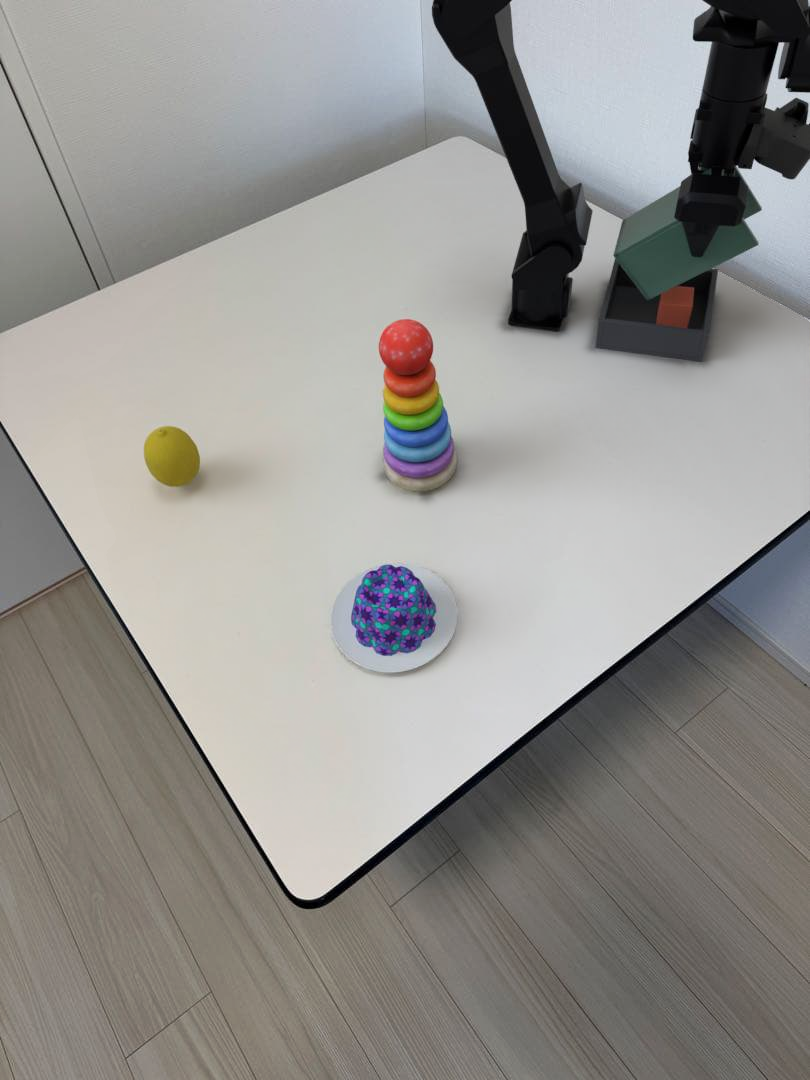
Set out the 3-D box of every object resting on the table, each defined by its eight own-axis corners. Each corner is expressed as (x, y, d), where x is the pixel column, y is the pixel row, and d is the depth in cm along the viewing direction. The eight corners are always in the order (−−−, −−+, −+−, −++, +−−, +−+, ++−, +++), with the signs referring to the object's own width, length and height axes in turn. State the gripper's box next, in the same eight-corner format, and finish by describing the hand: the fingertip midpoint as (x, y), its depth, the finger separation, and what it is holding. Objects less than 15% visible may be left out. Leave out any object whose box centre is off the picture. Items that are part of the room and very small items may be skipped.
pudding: (315, 664, 75) (305, 636, 71) (350, 559, 82) (342, 527, 78) (444, 686, 73) (441, 658, 68) (468, 576, 79) (467, 544, 75)
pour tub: (613, 255, 90) (725, 192, 81) (622, 220, 94) (730, 156, 85) (647, 301, 93) (758, 245, 84) (654, 265, 97) (762, 207, 88)
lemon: (167, 508, 88) (142, 458, 81) (152, 475, 91) (127, 424, 84) (215, 488, 89) (194, 437, 83) (199, 456, 92) (177, 404, 86)
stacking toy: (466, 447, 89) (462, 306, 74) (445, 502, 85) (435, 364, 70) (399, 434, 92) (381, 294, 77) (374, 487, 87) (350, 349, 72)
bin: (595, 347, 97) (598, 320, 94) (611, 285, 104) (615, 258, 101) (701, 361, 94) (708, 334, 91) (710, 296, 101) (718, 269, 98)
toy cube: (655, 328, 98) (660, 303, 95) (657, 309, 100) (662, 284, 97) (686, 331, 97) (692, 306, 94) (688, 312, 99) (694, 287, 96)
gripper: (825, 145, 69) (774, 298, 82) (828, 47, 80) (782, 196, 92) (690, 136, 72) (660, 285, 85) (709, 42, 82) (680, 187, 95)
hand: (700, 236), depth 89 cm, fingers closed on pour tub, 7 cm apart
